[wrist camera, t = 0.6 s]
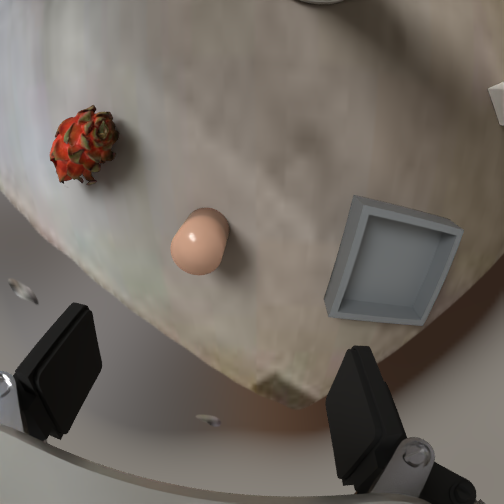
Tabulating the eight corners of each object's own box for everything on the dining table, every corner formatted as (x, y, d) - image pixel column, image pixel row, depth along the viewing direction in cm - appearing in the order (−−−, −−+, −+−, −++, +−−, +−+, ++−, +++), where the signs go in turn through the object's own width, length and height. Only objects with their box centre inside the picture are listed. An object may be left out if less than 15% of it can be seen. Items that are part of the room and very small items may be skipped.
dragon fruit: (135, 111, 35) (89, 167, 41) (85, 81, 29) (44, 146, 34) (132, 148, 31) (83, 209, 36) (70, 115, 25) (29, 187, 30)
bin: (353, 195, 38) (363, 204, 34) (448, 219, 38) (464, 230, 34) (323, 299, 44) (328, 317, 40) (412, 309, 45) (422, 325, 41)
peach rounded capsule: (186, 204, 39) (171, 223, 33) (232, 211, 39) (225, 231, 33) (183, 246, 42) (169, 270, 35) (226, 253, 42) (219, 279, 36)
